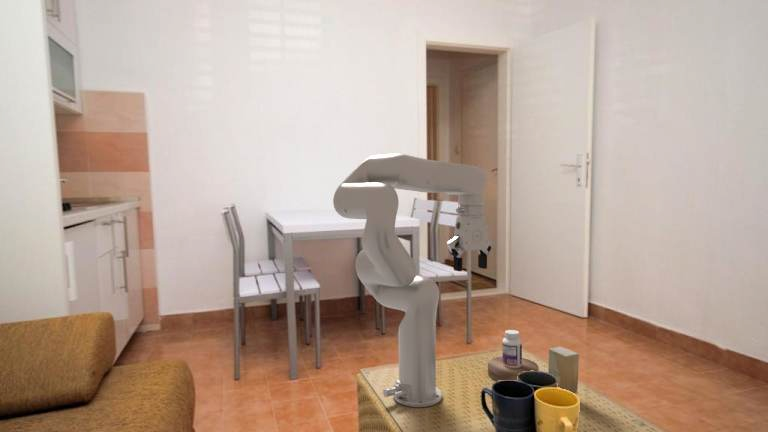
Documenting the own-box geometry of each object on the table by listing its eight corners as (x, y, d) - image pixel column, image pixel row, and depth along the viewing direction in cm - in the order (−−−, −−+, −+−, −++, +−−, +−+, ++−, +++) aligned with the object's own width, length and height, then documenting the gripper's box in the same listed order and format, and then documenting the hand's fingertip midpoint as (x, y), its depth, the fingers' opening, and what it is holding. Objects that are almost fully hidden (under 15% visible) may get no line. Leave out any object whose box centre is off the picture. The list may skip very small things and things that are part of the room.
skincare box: (547, 394, 122) (547, 348, 121) (559, 390, 123) (559, 345, 123) (566, 404, 116) (566, 355, 115) (578, 400, 118) (579, 353, 117)
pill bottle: (512, 360, 138) (512, 327, 137) (525, 366, 133) (526, 332, 132) (498, 363, 135) (498, 330, 134) (512, 370, 130) (512, 335, 130)
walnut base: (516, 389, 124) (516, 378, 124) (477, 373, 136) (477, 362, 136) (548, 377, 132) (548, 366, 132) (510, 362, 144) (510, 353, 144)
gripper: (456, 212, 130) (456, 273, 131) (501, 211, 139) (500, 268, 140) (439, 212, 137) (439, 270, 137) (483, 211, 146) (483, 265, 146)
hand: (470, 269), depth 139 cm, fingers open, 9 cm apart
